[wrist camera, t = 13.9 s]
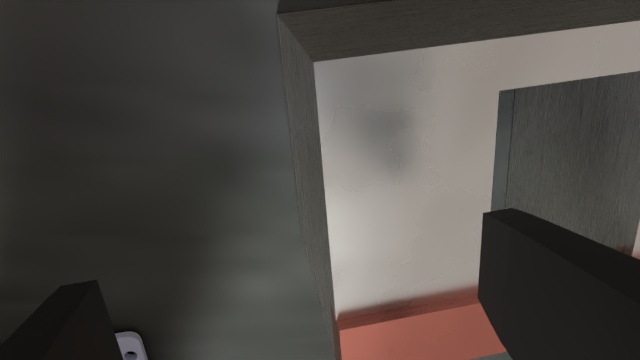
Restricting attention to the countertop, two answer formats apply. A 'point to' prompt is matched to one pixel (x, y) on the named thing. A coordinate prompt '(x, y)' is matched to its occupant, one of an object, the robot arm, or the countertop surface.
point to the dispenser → (451, 153)
